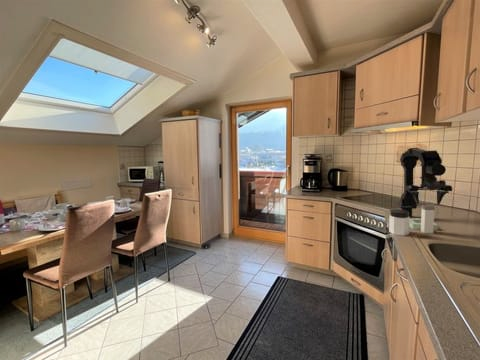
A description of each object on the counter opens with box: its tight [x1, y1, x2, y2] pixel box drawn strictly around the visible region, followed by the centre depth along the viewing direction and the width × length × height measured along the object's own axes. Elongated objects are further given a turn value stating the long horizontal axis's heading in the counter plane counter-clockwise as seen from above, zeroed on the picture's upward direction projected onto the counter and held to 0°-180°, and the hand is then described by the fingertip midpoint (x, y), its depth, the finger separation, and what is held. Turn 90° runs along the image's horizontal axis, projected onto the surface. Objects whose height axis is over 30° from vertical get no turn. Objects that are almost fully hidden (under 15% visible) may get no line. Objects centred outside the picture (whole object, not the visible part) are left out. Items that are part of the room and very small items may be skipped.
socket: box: [409, 217, 439, 231], centre depth 136 cm, size 11×11×3 cm
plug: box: [420, 204, 436, 234], centre depth 127 cm, size 4×4×14 cm
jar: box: [388, 208, 410, 237], centre depth 128 cm, size 9×8×12 cm
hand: (427, 204), depth 126 cm, fingers open, 9 cm apart
